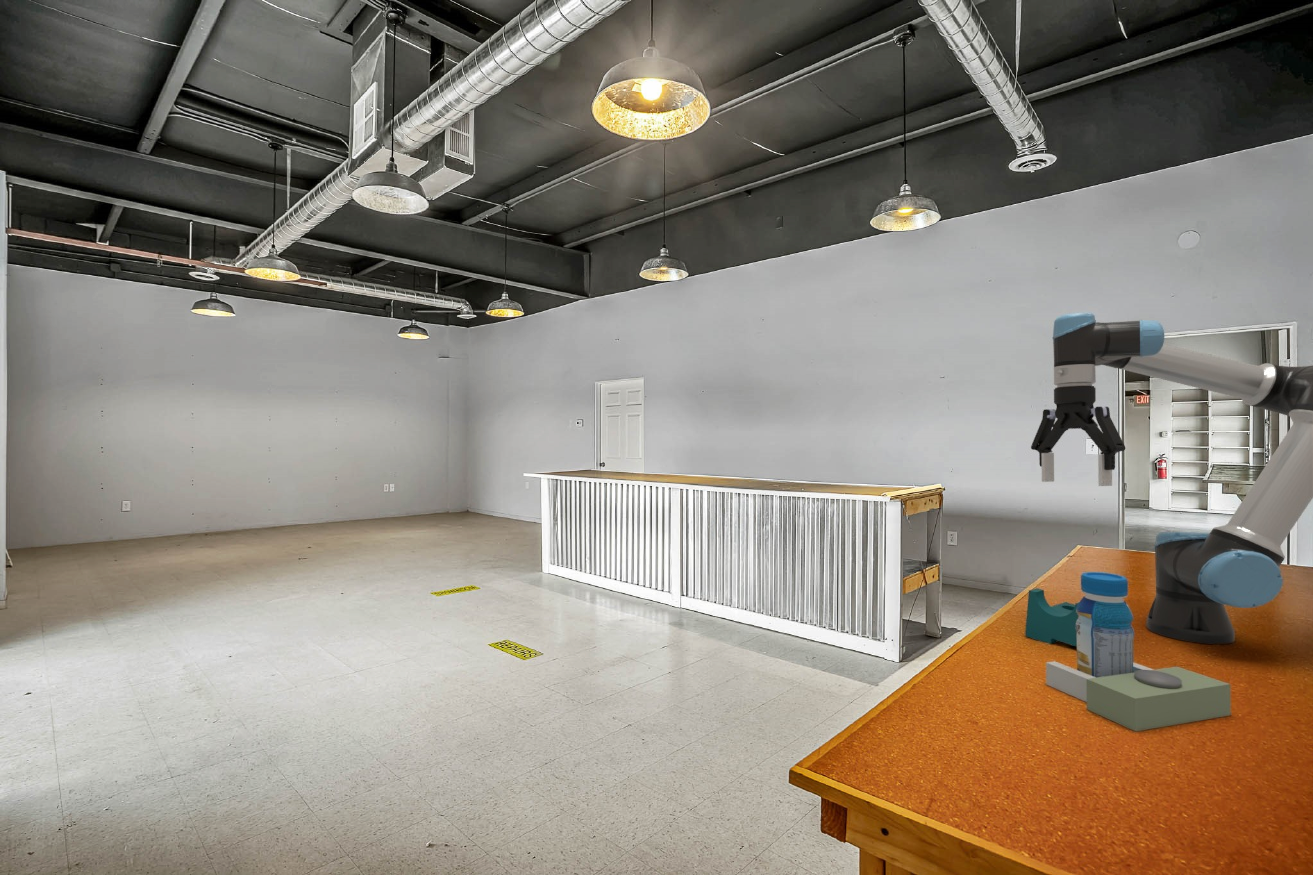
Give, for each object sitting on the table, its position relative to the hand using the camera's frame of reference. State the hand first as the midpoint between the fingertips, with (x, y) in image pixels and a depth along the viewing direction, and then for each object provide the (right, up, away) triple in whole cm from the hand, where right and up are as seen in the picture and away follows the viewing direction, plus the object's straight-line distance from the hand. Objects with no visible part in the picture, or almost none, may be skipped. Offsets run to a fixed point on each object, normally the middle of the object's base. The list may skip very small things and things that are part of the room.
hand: (1075, 483), depth 134 cm
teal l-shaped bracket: (+2, -35, +5) cm, 35 cm away
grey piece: (-11, -35, -29) cm, 46 cm away
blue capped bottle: (-12, -35, -25) cm, 44 cm away
